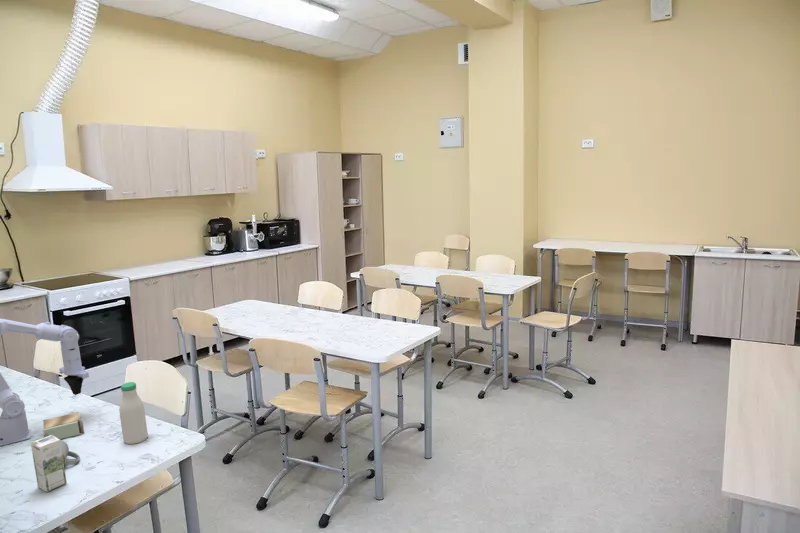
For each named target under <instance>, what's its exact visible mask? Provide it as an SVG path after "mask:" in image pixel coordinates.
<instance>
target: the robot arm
mask: <svg viewBox="0 0 800 533" xmlns="http://www.w3.org/2000/svg"><path fill="white" fill-rule="evenodd" d="M9 332H12V333H13V332H14V333H19V334H20V333H21V334H29V335H34V336H35V337H36V339H38V340H43V341H44V340H45V341H50V342H59V343H60V347H61V348H60V351H61V357H62V365H63V366H62V367H60V368H58V369H59V374H61V375H62V374H63V375H65V376H64V377H63V380H64V381H65V382H66V383H67V385H68V386H69V388H70V391H71V393H72V394H73V395H75V396H77V395H80V394H81V392H82V386H83V383H84V380H85V379H88V378H90V375H89V371H86V370H85V369H86V367H85V366H82V358H81V353H80V346H79V340H80V334H79V332H78V330H76V329H75V328H73V327H71V326H70V325H69V326H68V325H66V324H61V325H58V324H57V325H56V324H51V322H50V321H45V322H40V323H38V324H36V325H35V324H30V323H26V322H21V321H16V320H11V319H5V318H0V336H2V335H4V334H8V333H9ZM12 390H13V389H11V387H10V386H9V384H8V382H7V381H6V379H5V378H4V377H3V375H2V373H1V372H0V409H1V410H2V412H1V413H0V447H2V446H5V445H9V444H14V443H18V442H22V441H26V440H30V439H31V437H32V436H31V435H32V432H31V431H32V430H31V429H30V428H29V425H28V424H29V423H28V419H27V413H26V409H25V407H26V406H25V403H24V401H23V400H22V399H21V398H20V396H19V394H17V393H15V392H14V391H12Z"/></svg>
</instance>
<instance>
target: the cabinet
mask: <svg viewBox="0 0 800 533" xmlns="http://www.w3.org/2000/svg"><path fill="white" fill-rule="evenodd" d="M76 421H78V426H79V433H80V434H81V435H84V434H85V429H84V428H85V427H84V423H83V422H84V421H83V420H82V419H80V413H79V412H78V411H77V412H72V413H69V414H64V415H61V416H56V417H52V418H47V419H43V429H46V428H51V427H55V426H59V425H63V424H67V423H72V422H76Z"/></svg>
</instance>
